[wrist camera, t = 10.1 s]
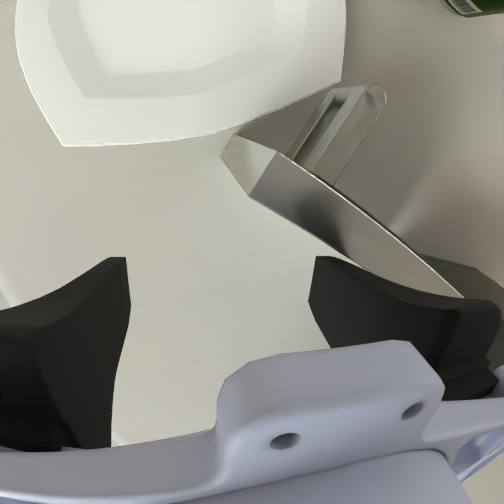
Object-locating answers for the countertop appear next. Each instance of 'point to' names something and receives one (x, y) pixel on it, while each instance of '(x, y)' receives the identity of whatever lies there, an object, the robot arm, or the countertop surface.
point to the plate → (173, 63)
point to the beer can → (474, 7)
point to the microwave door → (331, 188)
